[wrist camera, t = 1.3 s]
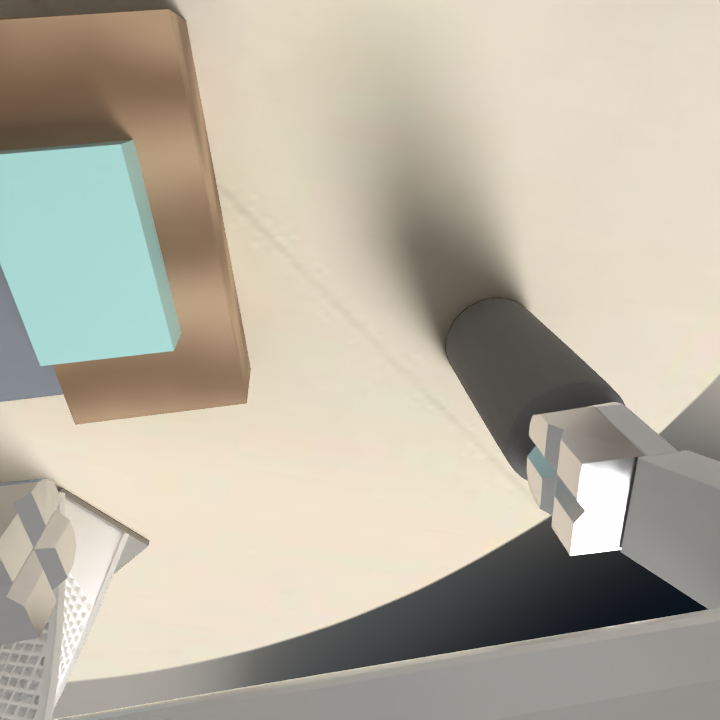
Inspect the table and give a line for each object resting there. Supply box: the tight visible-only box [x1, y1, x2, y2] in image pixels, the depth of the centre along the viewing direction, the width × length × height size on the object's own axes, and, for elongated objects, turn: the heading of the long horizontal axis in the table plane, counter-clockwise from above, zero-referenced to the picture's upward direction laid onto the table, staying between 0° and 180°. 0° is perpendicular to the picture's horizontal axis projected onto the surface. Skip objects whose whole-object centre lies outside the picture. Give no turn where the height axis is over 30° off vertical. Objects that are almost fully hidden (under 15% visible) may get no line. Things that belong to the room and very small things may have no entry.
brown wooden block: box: [0, 9, 251, 425], centre depth 26 cm, size 18×9×4 cm, turn 4°
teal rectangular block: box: [0, 140, 181, 366], centre depth 23 cm, size 9×6×2 cm, turn 4°
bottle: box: [446, 298, 625, 480], centre depth 27 cm, size 6×6×15 cm
